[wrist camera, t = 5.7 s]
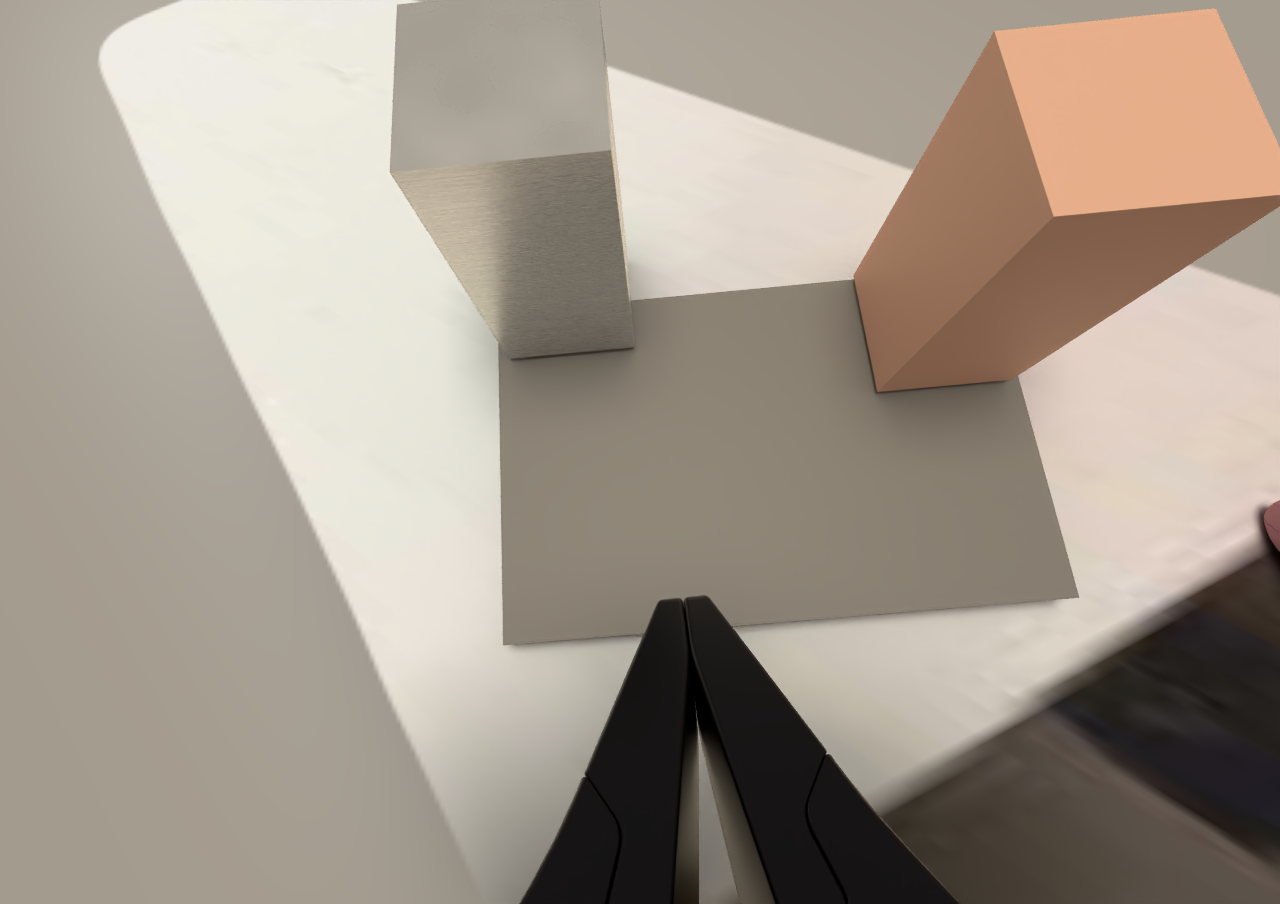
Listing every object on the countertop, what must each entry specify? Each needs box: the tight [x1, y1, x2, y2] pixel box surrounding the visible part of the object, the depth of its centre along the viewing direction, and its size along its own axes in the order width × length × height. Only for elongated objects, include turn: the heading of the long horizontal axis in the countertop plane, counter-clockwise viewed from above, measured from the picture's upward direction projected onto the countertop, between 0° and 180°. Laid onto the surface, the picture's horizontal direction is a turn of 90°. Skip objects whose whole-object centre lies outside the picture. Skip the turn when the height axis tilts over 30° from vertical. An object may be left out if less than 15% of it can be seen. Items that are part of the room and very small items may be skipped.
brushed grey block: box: [390, 0, 635, 359], centre depth 18 cm, size 5×5×10 cm
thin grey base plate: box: [498, 280, 1079, 645], centre depth 22 cm, size 13×20×1 cm, turn 94°
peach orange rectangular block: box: [854, 8, 1280, 392], centre depth 17 cm, size 5×5×10 cm
